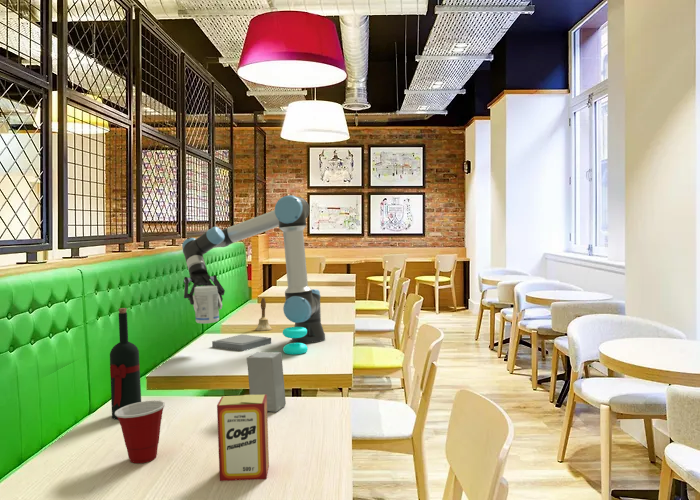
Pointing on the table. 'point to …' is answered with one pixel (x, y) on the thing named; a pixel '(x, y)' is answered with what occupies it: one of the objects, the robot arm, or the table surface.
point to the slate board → (241, 342)
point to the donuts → (295, 347)
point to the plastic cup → (141, 429)
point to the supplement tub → (206, 304)
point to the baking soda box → (243, 437)
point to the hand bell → (263, 318)
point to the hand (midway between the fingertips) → (208, 308)
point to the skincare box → (267, 378)
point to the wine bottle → (124, 369)
